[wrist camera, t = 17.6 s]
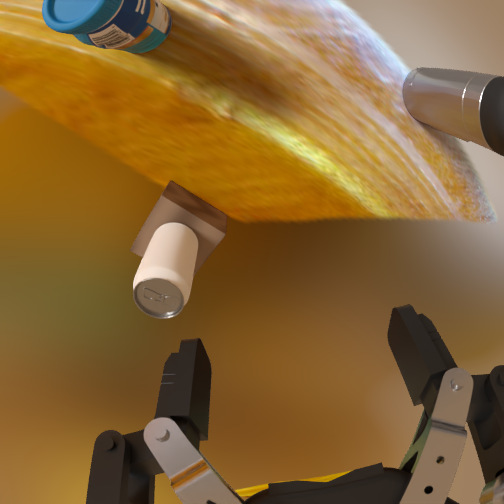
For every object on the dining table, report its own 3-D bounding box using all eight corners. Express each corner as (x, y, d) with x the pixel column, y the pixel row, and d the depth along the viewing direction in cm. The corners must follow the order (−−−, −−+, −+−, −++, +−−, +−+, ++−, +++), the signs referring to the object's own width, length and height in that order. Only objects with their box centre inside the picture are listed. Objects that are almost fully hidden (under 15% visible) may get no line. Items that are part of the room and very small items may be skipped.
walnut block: (226, 215, 46) (225, 234, 40) (192, 260, 50) (188, 283, 44) (170, 180, 42) (161, 195, 37) (140, 230, 46) (129, 250, 41)
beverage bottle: (105, 44, 30) (18, 33, 13) (134, -6, 27) (65, -52, 10) (154, 62, 33) (88, 52, 16) (185, 11, 29) (144, -41, 12)
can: (190, 267, 43) (179, 328, 33) (148, 253, 41) (125, 310, 31) (205, 230, 40) (196, 287, 30) (159, 214, 38) (134, 266, 28)
